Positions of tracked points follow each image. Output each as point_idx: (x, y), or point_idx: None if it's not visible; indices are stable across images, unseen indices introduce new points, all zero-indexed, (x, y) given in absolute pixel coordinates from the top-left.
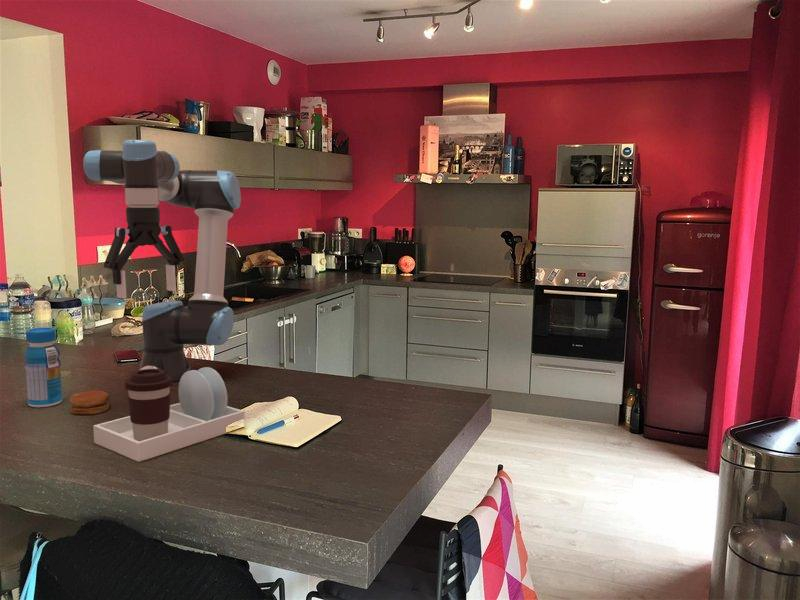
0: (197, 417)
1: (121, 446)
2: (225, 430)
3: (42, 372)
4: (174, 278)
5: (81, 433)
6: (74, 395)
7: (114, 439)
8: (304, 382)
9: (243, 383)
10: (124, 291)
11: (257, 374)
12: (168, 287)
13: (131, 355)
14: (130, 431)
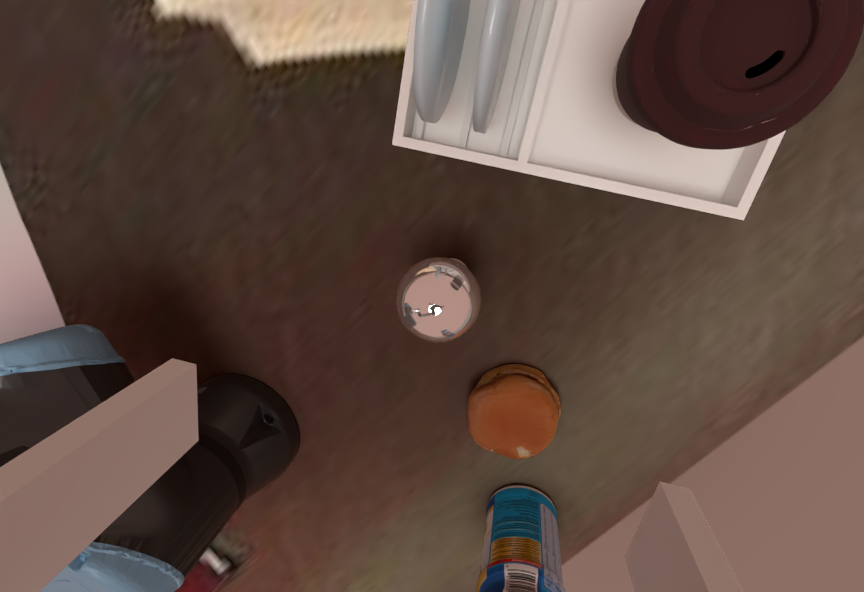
0: (512, 31)
1: None
2: None
3: (549, 567)
4: (74, 430)
5: (667, 295)
6: (531, 450)
7: None
8: (50, 70)
9: (164, 222)
10: (703, 541)
11: (92, 244)
12: (180, 436)
13: (187, 576)
14: (641, 169)
